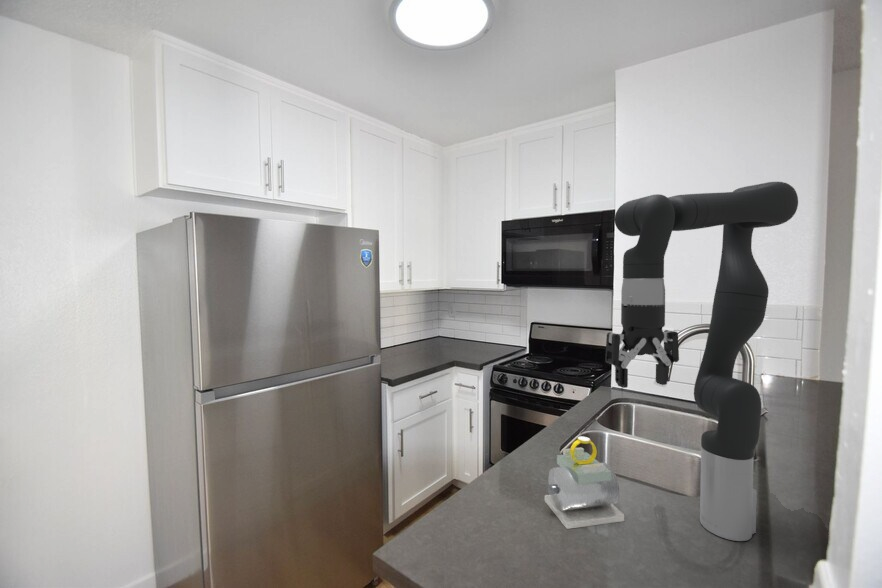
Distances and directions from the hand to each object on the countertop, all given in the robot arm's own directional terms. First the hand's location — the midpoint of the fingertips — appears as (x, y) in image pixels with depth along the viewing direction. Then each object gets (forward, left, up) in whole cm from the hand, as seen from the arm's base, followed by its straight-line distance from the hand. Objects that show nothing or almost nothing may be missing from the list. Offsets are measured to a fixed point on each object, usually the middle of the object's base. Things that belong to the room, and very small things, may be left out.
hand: (641, 385), depth 76 cm
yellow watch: (+3, -16, -23) cm, 28 cm away
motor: (+3, -16, -34) cm, 38 cm away
